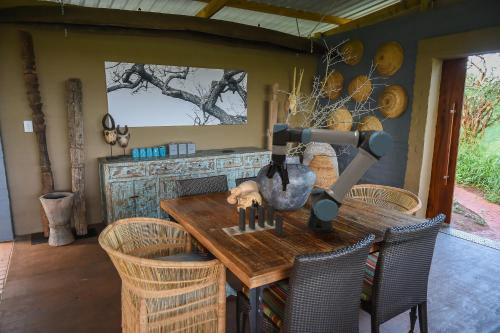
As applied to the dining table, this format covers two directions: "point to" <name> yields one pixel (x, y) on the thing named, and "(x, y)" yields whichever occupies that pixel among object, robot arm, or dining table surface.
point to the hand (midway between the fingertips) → (276, 193)
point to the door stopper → (254, 206)
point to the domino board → (236, 231)
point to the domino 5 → (279, 224)
